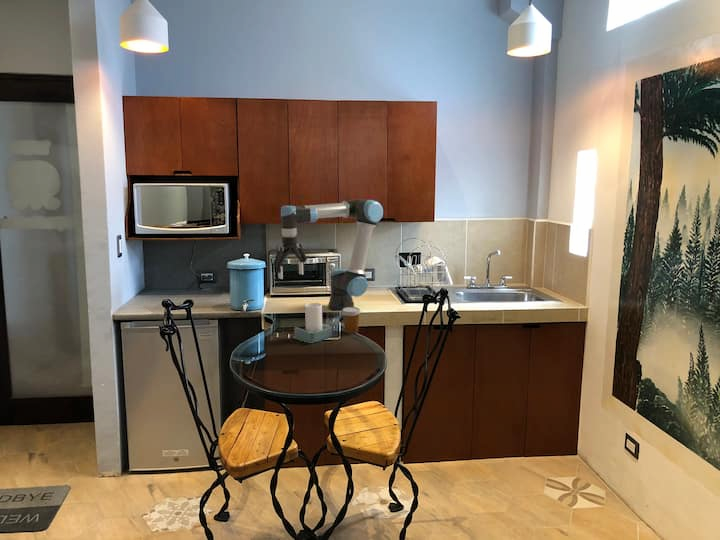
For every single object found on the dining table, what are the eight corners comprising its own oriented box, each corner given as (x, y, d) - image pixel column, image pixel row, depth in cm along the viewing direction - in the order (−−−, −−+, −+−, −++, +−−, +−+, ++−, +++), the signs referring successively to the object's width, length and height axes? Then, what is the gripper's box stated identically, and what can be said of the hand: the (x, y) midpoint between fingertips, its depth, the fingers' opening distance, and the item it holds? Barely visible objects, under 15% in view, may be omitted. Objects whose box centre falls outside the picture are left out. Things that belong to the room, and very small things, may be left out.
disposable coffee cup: (358, 335, 282) (358, 312, 279) (340, 334, 284) (339, 311, 281) (362, 329, 291) (362, 307, 288) (344, 328, 293) (344, 306, 290)
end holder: (317, 330, 291) (317, 320, 290) (335, 336, 281) (335, 326, 280) (293, 337, 280) (292, 328, 279) (311, 344, 270) (311, 334, 269)
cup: (318, 332, 286) (318, 301, 282) (325, 337, 279) (324, 305, 275) (303, 334, 282) (302, 303, 279) (309, 339, 275) (308, 308, 272)
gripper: (303, 232, 301) (304, 271, 305) (265, 238, 283) (267, 279, 288) (312, 233, 295) (313, 273, 300) (274, 239, 278) (276, 281, 283)
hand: (291, 276), depth 294 cm, fingers open, 13 cm apart
